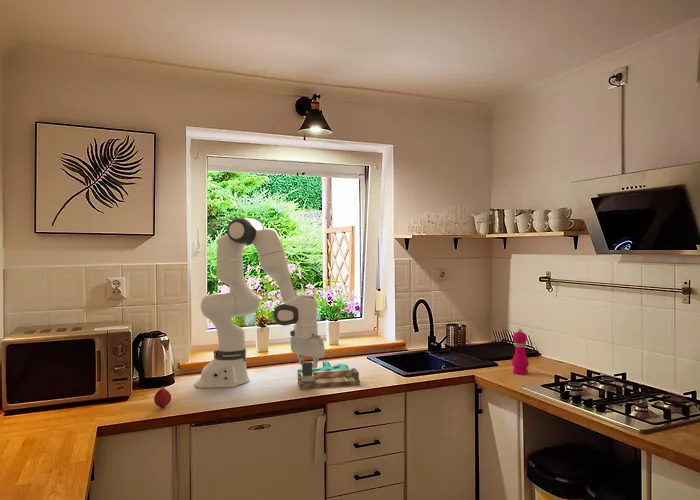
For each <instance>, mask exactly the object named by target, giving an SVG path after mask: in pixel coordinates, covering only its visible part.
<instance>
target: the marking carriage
mask: <svg viewBox="0 0 700 500" xmlns="http://www.w3.org/2000/svg"><path fill="white" fill-rule="evenodd" d="M312 363H313V361H311V360H309V361H304V362H302V365H301V369H302V373H300V375H301V381H302V382H314V381H315V379H314V375H313V373H312V369H313V368H312Z"/></svg>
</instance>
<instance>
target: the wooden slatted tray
mask: <svg viewBox="0 0 700 500" xmlns="http://www.w3.org/2000/svg"><path fill="white" fill-rule="evenodd" d="M300 373H302V372H299V373H298V372H297V384H298V387H299V389H300V390H308V389H309V390H310V389H325V388H338V387H352V386H353V387H355V386H360V385H361V380H360V373H359V371H358V369H356V368H355V367H353V368H349V369H345V370H330V371H315V372H312V373H313V375H314V379H315V381H314V382H302V381H301V375H300Z"/></svg>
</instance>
